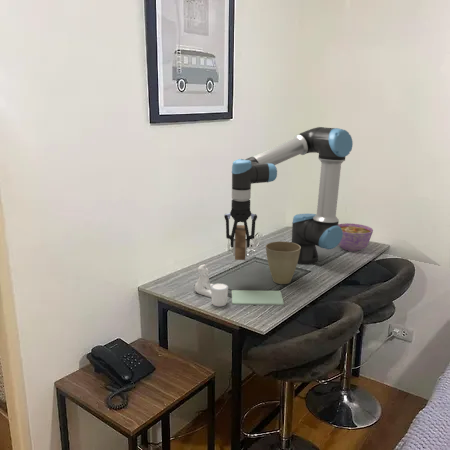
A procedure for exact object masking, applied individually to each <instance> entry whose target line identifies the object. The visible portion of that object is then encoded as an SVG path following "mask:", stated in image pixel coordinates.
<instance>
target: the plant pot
mask: <svg viewBox="0 0 450 450" xmlns="http://www.w3.org/2000/svg"><path fill="white" fill-rule="evenodd" d="M300 249H301V247H300V245H298V244H296V243H292V241H291V242H290V241H282V240H281V241H273V242H268V243H267V244H266V245H265V251H266V252H265V253H266V259H267V263H268V269H269V272H270V274H271V278H272V281H273V282H274V283H276V284H278V285H279V284H280V285H288V284H290V283H291V281H292V279H293V276H294V274H295V271H296V269H297V266H298V264H297V263H298V259H299V254H300Z"/></svg>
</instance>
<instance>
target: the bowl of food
mask: <svg viewBox="0 0 450 450" xmlns="http://www.w3.org/2000/svg"><path fill="white" fill-rule="evenodd" d="M338 226H339V227H340V228H341V229H342V231H343V236H342V239H341V241H340V243H339V244H338V245H337V246H339V247H340V248H342V249H343V250H345V251H347V250H348V251H347V252H353V251H354V252H359V251H361V250H364V249H365V248H367V246H368V245H369V243H370V240H371V238H372V235H373V233H374V232H373V231H374V229H373V228H372V227H370V226H368V225H364V224H360V223H351V222H350V223H347V222H346V223H345V222H344V223H338ZM358 250H359V251H358Z"/></svg>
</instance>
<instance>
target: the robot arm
mask: <svg viewBox="0 0 450 450" xmlns="http://www.w3.org/2000/svg"><path fill="white" fill-rule="evenodd" d="M352 138H353V137H352V135H351V134H350V132H348V131H347V130H346V129H343V128H338V127H326V126H325V127H322V126H317V127H313V128H311V129H308V130H305V131H303V132H300V133H298V134H296V135H295V136H294V137H293V138H292V139H290V140H287V141H285V142H283V143H280V144H278V145H275V146H273V147H271V148H269V149H267V150H264V151H262V152H260V153H258V154H255V155H253V156H251V157H247V158H246V159H244V158H241V159H240V158H239V159H236V160H234V161H233V162H232V166H231V210H230V212H229V213H225V214H224V215H223V216H224V221H225V230H226V231H225V234H226V235H225V236H226V237H225V238H226V239H228V240H230V248H232V250H233V251H232V256H234V257H235V231H236V227H237V225H238V223H243V225H244V226H245V229H246V244H245V257H246V256H247V255H248V252H247V251H248V248H250V243H251V240H253V239H255V235H256V234H255V233H256V221H257V219H258V215H257V214H256V213H253V212H252V210H251V200H250V199H251V194H252V193H251V191H252V190H251V189H252V184H262V183H267V184H268V183H270V182H274V181H276V179H277V177H278V169H277V167H276V165H279V164H281V163H283V162H285V161H288V160H290V159H291V158H294V157H297V156H299V155H301V156H304V155H306V154H312V153H313V154H314V153H315V154H316V153H317V154H318V160H319V161H320V162H321V164H320V165H321V166H320V176H319V186H318V196H317V197H318V198H317V205H316V206H317V208H316V214H315V213H299V214H298V213H297V214H295V215H294V216H293V218H292V225H291V226H292V227H291V242H292V243H296V244H298V245H300V247H301V249H300V254H299V259H298V263H297V265H314V264H316V263H318V261H319V255H318V254H319V253H318V249H317V247H319V248H321V249H325V250H334V249H335V248H336V247H338V246H339V245H338V244H339V243H340V241H341V239H342V236H343V231H342V229H341V228H340V227H339V226H338V224H340V223H339V222H340V221H339V219H340V218H338V217H337V207H338V198H339V197H338V196H339V189H340V188H339V187H340V178H341V169H342V164H343V162H345V161H346V157H347V156H349V154H350V152H351V151H352V149H353V144H354V141H353V139H352ZM231 217H232V219H233V220H234V222H233V226H232V229H231V234H230V219H231ZM250 217H251V232H249V227H248V222H247V221H248V219H250ZM249 233H250V234H249Z"/></svg>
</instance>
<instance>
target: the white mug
mask: <svg viewBox="0 0 450 450" xmlns="http://www.w3.org/2000/svg"><path fill="white" fill-rule="evenodd" d="M212 284H213V285H211V297H210V298H211V303H212V305H213V306H215V307H224V306H226V305H227V302H228V293H229V285H227V284H225V283H223V282H222V283H220V282H219V283H212Z"/></svg>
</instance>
